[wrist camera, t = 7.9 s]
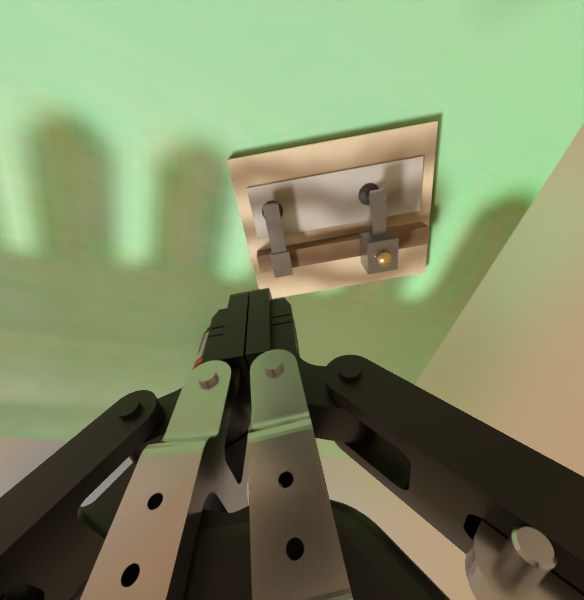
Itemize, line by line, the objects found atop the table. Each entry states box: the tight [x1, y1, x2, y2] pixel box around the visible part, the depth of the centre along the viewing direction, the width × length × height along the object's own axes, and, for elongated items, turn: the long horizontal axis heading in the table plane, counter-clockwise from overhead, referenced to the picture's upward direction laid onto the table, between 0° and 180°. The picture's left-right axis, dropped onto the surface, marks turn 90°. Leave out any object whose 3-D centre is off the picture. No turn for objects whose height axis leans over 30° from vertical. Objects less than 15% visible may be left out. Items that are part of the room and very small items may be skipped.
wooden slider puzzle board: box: [227, 121, 438, 299], centre depth 38 cm, size 19×24×3 cm
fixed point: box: [263, 202, 293, 278], centre depth 38 cm, size 9×2×3 cm, turn 9°
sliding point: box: [359, 188, 399, 275], centre depth 36 cm, size 9×4×6 cm, turn 9°
